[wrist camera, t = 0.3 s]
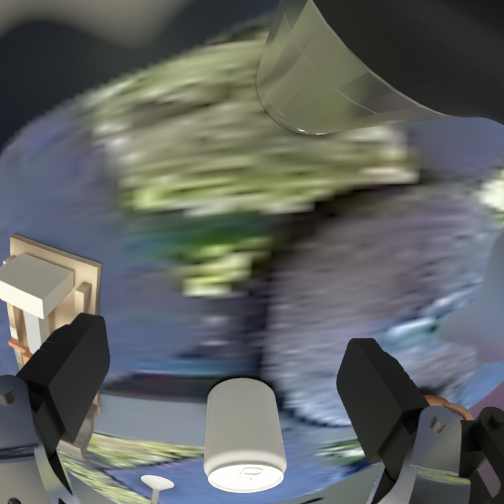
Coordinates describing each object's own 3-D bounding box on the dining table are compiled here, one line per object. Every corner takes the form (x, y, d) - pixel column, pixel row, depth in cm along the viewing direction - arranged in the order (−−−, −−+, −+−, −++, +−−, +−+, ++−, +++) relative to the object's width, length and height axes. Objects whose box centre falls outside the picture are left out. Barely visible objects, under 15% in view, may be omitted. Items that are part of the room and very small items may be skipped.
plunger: (22, 252, 23) (-12, 274, 18) (73, 271, 24) (42, 299, 19) (28, 328, 26) (3, 356, 20) (74, 348, 27) (52, 382, 22)
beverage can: (199, 407, 33) (193, 487, 21) (221, 366, 31) (219, 456, 19) (257, 421, 34) (266, 496, 23) (285, 383, 32) (304, 466, 21)
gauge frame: (15, 234, 24) (-37, 262, 15) (101, 263, 26) (57, 308, 17) (33, 382, 31) (8, 421, 23) (100, 412, 33) (83, 458, 24)
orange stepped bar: (13, 329, 25) (1, 343, 22) (60, 352, 26) (49, 368, 23) (15, 342, 26) (4, 355, 23) (62, 364, 27) (51, 380, 24)
